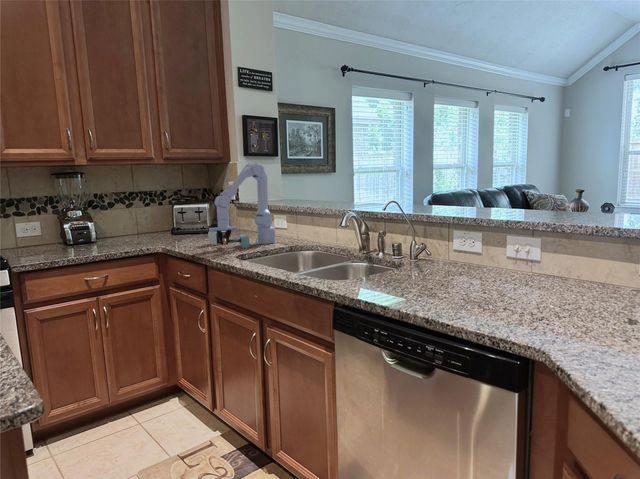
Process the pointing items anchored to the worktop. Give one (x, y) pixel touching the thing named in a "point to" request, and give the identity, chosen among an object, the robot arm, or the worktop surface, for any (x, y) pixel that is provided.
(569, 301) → the worktop surface
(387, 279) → the worktop surface
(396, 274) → the worktop surface
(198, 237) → the worktop surface
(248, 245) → the block
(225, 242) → the t-handle rod
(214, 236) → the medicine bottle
